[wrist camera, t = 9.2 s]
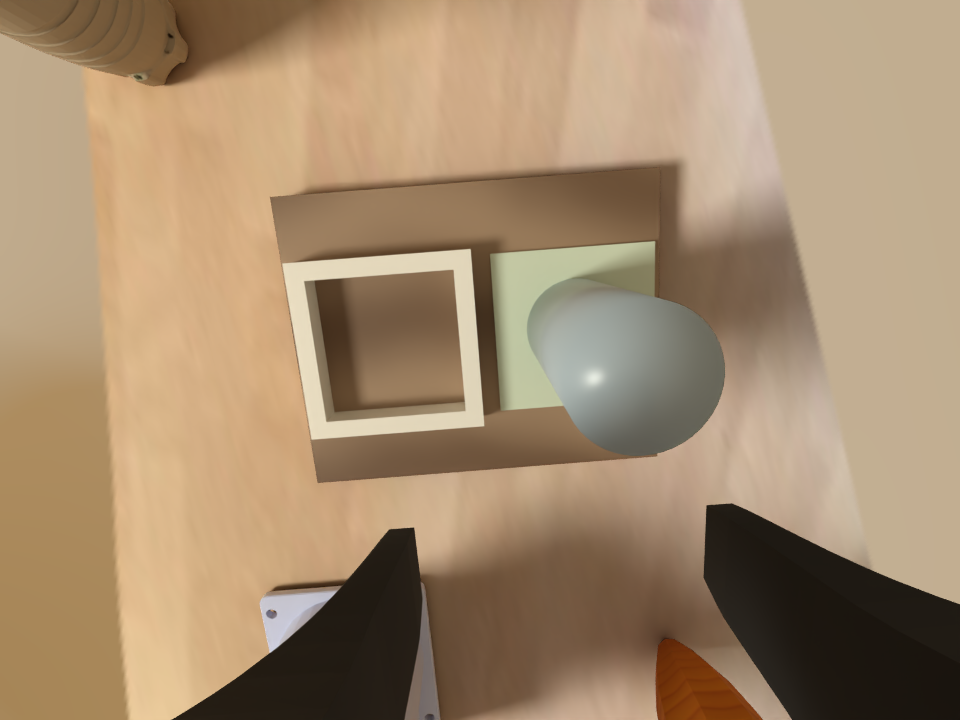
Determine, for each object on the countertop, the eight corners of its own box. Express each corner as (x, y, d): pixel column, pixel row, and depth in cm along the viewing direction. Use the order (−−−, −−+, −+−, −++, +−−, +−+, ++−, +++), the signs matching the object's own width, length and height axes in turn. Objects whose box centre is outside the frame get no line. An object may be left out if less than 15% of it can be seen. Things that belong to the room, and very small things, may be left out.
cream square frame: (483, 416, 21) (484, 426, 19) (320, 428, 21) (311, 439, 19) (470, 249, 19) (470, 249, 18) (293, 262, 19) (282, 263, 18)
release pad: (651, 397, 21) (653, 398, 20) (500, 409, 21) (501, 410, 20) (653, 241, 19) (655, 241, 19) (490, 253, 19) (490, 253, 19)
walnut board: (647, 445, 22) (657, 456, 21) (325, 470, 22) (317, 482, 21) (648, 171, 20) (660, 167, 18) (281, 200, 20) (269, 197, 18)
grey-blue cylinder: (625, 371, 20) (722, 449, 12) (529, 379, 20) (565, 462, 12) (624, 274, 19) (728, 292, 11) (524, 282, 19) (558, 305, 11)
